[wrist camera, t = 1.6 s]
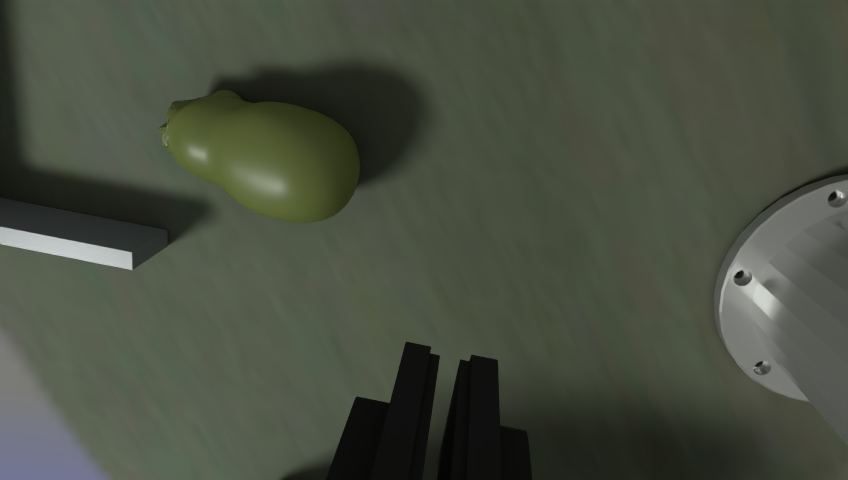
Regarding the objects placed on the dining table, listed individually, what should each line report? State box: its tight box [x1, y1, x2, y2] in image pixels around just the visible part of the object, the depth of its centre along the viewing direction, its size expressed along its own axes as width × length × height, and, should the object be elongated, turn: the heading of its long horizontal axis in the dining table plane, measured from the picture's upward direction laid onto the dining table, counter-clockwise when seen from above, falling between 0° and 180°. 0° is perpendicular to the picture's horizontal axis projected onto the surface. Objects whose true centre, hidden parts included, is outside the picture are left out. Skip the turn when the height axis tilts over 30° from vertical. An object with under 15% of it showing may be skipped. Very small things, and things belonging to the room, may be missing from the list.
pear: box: [158, 90, 360, 223], centre depth 28 cm, size 6×5×10 cm
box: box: [0, 198, 168, 270], centre depth 29 cm, size 12×16×4 cm
